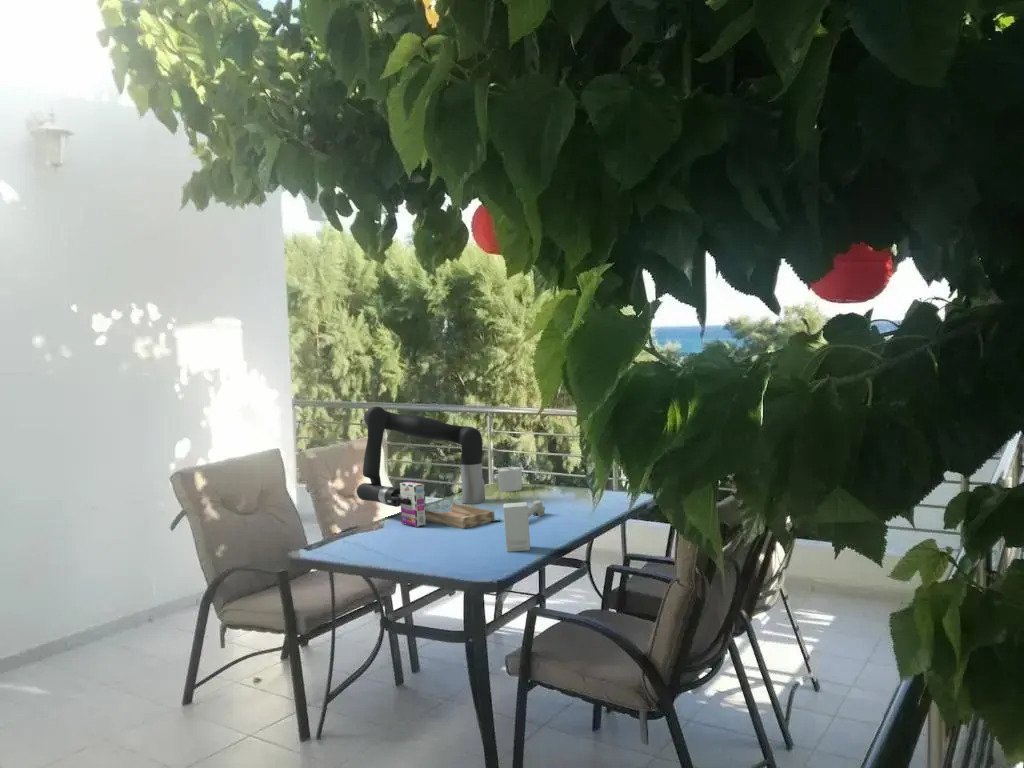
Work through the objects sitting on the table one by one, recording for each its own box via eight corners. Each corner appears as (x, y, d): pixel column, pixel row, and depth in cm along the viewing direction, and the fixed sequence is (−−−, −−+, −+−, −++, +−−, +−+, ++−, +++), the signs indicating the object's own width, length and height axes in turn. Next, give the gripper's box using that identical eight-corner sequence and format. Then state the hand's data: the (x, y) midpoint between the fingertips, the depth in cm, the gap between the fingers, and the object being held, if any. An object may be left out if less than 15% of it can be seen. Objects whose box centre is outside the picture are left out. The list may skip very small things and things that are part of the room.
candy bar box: (427, 525, 322) (425, 484, 321) (416, 527, 319) (414, 485, 318) (411, 521, 331) (409, 480, 330) (401, 523, 328) (398, 482, 327)
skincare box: (529, 546, 284) (527, 501, 283) (530, 551, 278) (528, 505, 277) (505, 547, 284) (503, 502, 283) (505, 552, 278) (503, 506, 277)
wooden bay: (453, 512, 344) (453, 503, 343) (494, 521, 324) (494, 511, 324) (422, 519, 333) (422, 510, 332) (463, 529, 314) (462, 518, 313)
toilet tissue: (523, 487, 394) (522, 466, 393) (520, 492, 382) (519, 470, 381) (501, 487, 395) (500, 467, 394) (497, 492, 383) (496, 471, 383)
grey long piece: (505, 517, 313) (534, 496, 335) (507, 534, 314) (536, 511, 336) (517, 518, 311) (546, 497, 332) (519, 535, 312) (547, 512, 333)
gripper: (376, 490, 330) (400, 494, 318) (405, 484, 340) (430, 488, 327) (377, 508, 331) (401, 514, 318) (406, 502, 340) (431, 507, 328)
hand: (416, 501), depth 323 cm, fingers closed on candy bar box, 5 cm apart
